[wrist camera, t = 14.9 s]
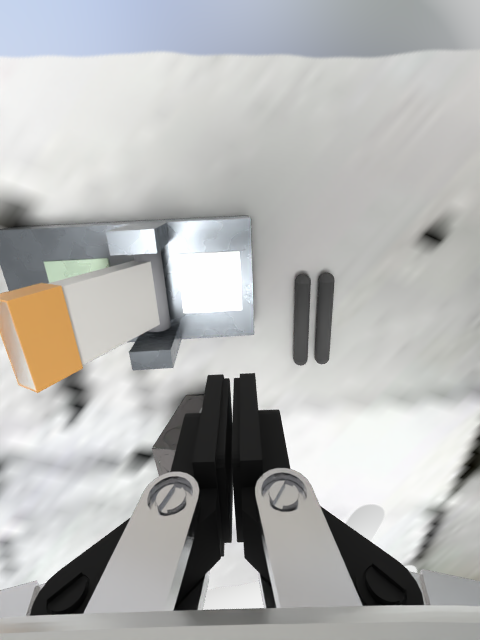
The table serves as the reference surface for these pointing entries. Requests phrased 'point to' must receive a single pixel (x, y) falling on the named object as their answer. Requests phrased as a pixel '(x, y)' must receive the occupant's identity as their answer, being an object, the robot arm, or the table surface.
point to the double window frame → (178, 266)
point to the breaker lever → (81, 318)
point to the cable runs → (322, 318)
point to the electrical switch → (174, 433)
